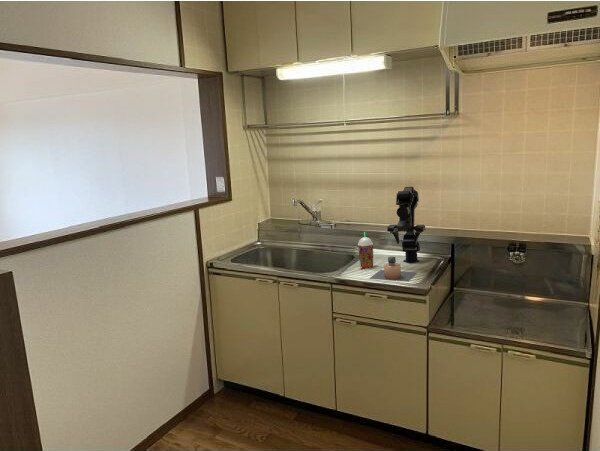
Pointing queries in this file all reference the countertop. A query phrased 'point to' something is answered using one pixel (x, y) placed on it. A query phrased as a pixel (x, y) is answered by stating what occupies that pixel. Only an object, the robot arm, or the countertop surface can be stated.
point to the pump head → (391, 259)
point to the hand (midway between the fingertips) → (406, 244)
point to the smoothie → (365, 252)
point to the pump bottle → (392, 271)
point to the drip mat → (404, 277)
